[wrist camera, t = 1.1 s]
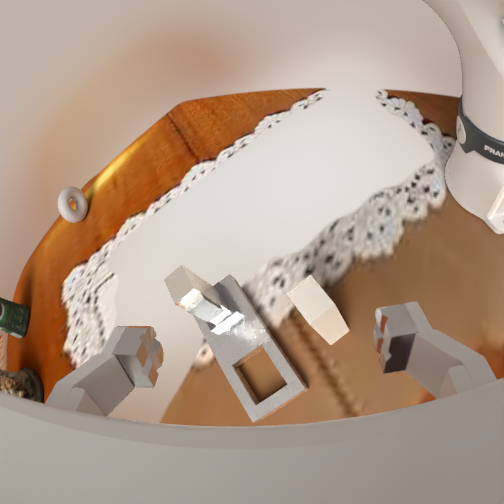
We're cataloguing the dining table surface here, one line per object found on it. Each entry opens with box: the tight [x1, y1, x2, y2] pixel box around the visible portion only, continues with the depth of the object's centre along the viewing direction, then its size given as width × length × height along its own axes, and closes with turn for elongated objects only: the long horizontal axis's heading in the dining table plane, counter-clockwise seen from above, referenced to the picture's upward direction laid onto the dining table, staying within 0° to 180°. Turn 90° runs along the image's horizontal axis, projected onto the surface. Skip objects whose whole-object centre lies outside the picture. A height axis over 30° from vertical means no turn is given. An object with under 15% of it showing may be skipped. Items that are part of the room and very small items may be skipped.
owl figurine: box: [0, 367, 44, 403], centre depth 51 cm, size 18×12×17 cm, turn 82°
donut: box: [58, 187, 88, 223], centre depth 73 cm, size 10×4×10 cm, turn 2°
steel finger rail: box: [164, 265, 309, 423], centre depth 38 cm, size 20×8×12 cm, turn 32°
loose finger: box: [287, 275, 350, 345], centre depth 34 cm, size 5×3×12 cm, turn 32°
